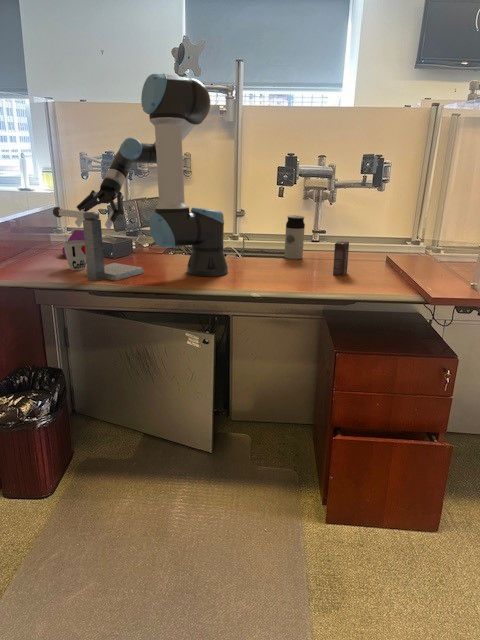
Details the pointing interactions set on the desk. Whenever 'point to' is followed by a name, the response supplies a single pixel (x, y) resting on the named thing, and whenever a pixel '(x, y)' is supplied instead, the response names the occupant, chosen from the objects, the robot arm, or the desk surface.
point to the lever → (75, 214)
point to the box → (341, 258)
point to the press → (95, 256)
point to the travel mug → (294, 237)
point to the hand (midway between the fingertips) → (92, 226)
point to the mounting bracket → (75, 238)
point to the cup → (75, 254)
